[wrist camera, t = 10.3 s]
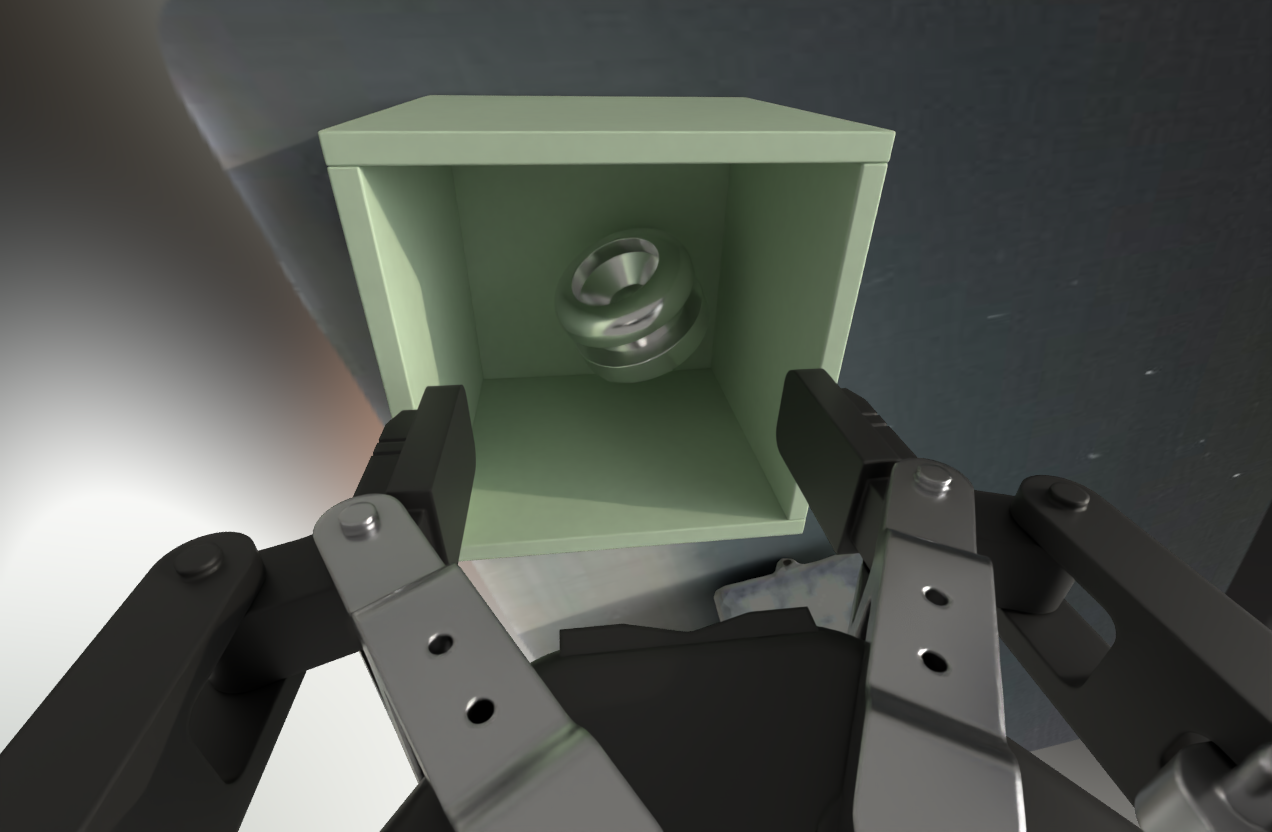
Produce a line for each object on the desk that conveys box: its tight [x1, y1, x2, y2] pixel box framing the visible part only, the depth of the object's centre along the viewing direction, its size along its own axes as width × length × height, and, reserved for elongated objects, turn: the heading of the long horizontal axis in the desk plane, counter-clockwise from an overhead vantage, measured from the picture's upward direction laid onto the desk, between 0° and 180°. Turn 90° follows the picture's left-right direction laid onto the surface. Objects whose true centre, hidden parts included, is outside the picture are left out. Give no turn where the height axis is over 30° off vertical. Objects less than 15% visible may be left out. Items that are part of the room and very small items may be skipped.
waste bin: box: [318, 95, 895, 561], centre depth 18 cm, size 11×11×11 cm
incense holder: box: [714, 553, 863, 634], centre depth 32 cm, size 10×8×10 cm
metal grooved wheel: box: [554, 228, 710, 383], centre depth 20 cm, size 5×3×5 cm, turn 117°
